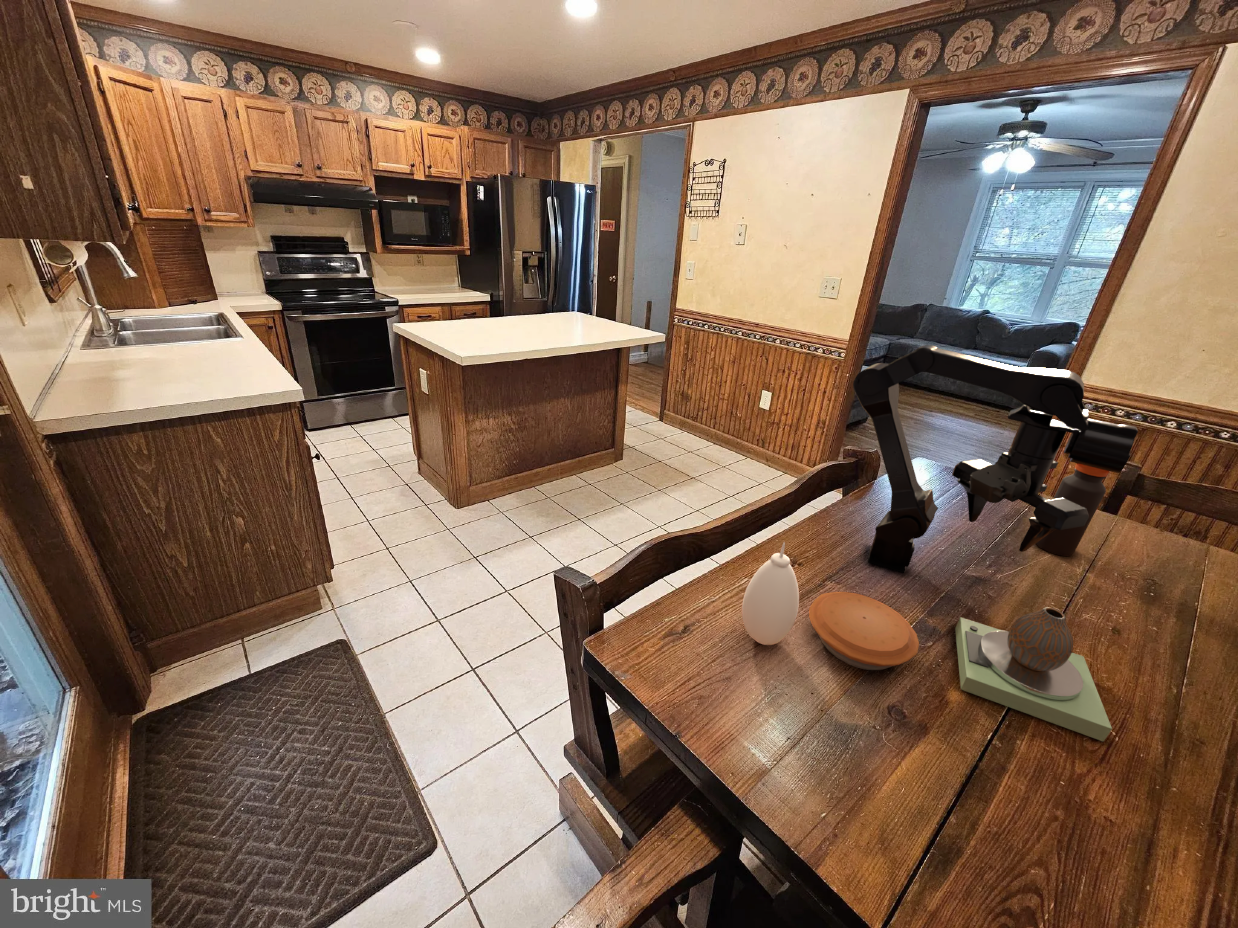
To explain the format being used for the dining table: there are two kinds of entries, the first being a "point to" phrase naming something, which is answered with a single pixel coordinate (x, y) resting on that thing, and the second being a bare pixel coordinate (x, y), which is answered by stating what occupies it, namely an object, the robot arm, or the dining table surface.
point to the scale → (985, 682)
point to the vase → (1041, 640)
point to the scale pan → (1029, 670)
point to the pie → (862, 630)
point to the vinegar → (1083, 492)
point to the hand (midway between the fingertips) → (995, 535)
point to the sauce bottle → (771, 600)
